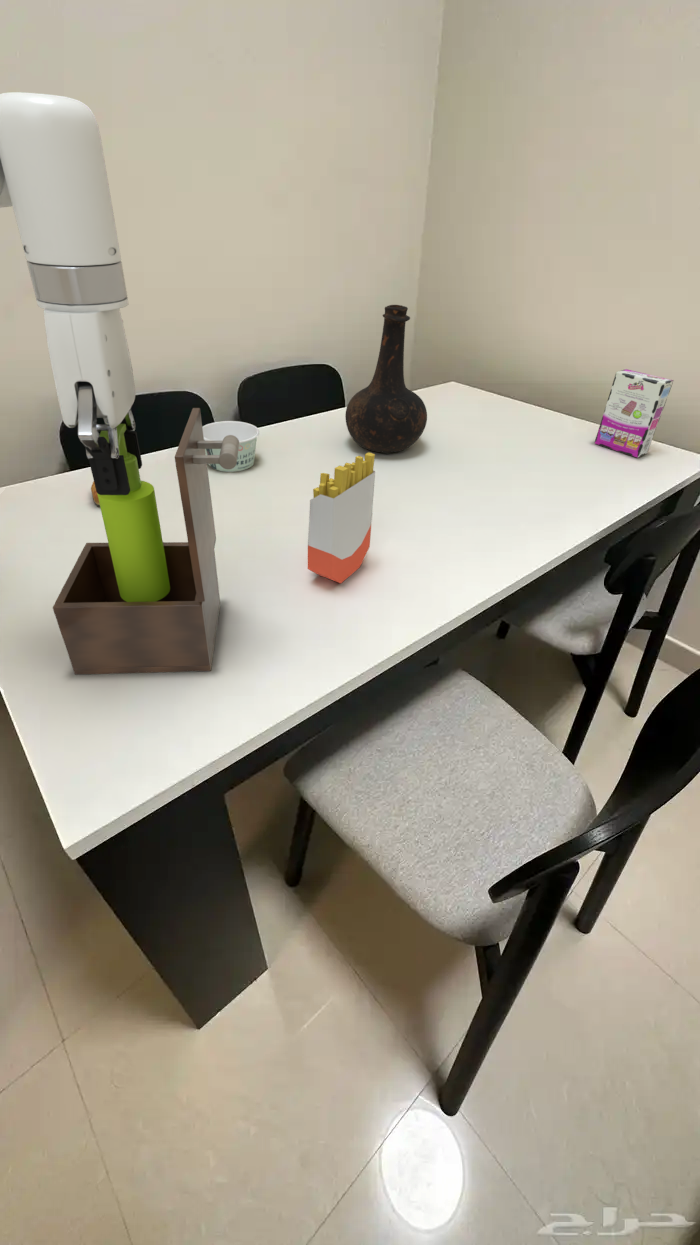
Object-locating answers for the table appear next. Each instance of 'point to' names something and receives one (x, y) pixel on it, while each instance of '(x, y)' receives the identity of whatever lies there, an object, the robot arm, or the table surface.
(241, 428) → the food container
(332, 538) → the french fries container
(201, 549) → the lid
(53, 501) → the table surface
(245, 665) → the table surface
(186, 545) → the chest
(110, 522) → the soap dispenser
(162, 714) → the table surface
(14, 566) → the table surface
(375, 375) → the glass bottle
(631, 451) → the candy bar box
